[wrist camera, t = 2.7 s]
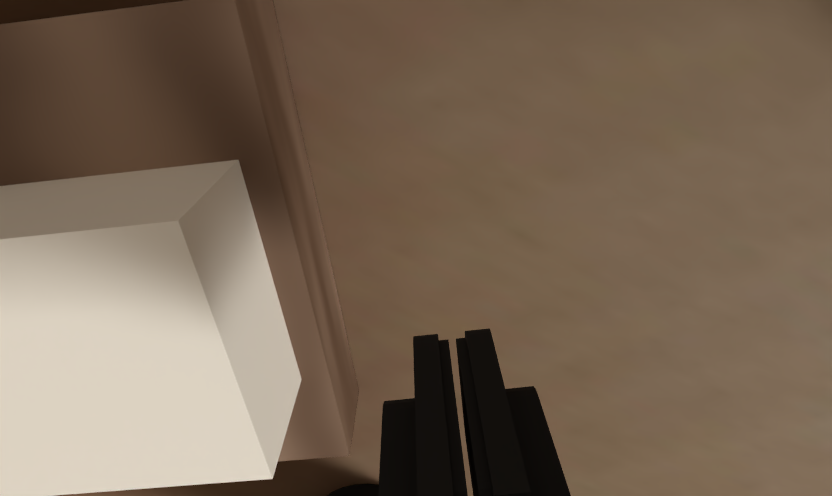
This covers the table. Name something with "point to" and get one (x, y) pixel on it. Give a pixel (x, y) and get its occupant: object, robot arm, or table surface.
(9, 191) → the cream rectangular block
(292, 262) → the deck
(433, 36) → the table surface
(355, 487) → the cup
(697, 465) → the table surface
